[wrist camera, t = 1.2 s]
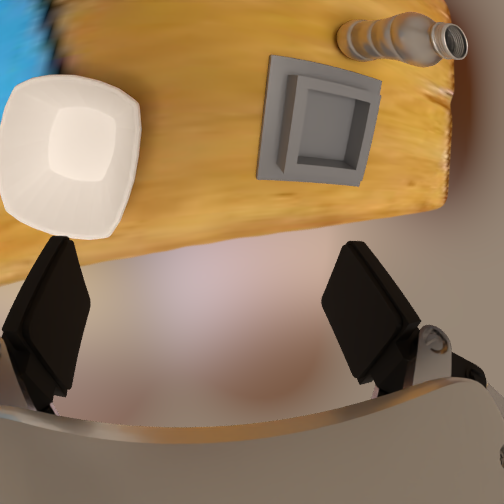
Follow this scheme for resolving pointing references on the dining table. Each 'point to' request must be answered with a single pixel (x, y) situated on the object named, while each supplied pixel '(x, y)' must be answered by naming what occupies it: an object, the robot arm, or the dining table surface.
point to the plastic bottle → (402, 40)
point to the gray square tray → (316, 123)
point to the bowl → (69, 155)
